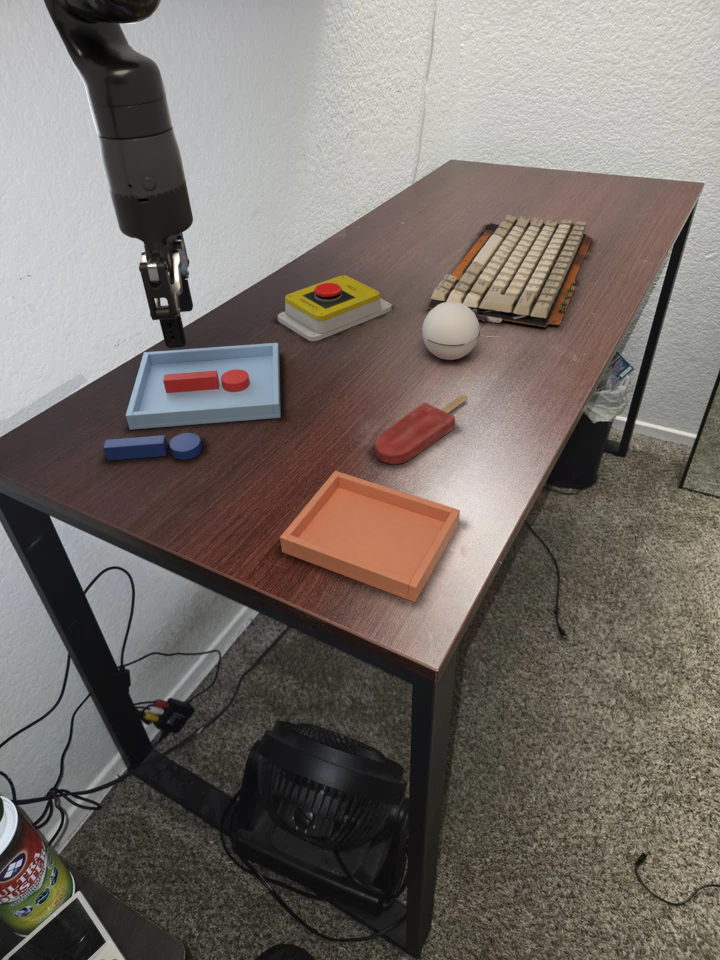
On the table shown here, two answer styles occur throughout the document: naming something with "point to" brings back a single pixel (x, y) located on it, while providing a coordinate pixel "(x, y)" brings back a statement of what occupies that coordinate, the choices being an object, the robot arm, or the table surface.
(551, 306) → the mechanical keyboard
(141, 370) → the blue tray
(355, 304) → the emergency button
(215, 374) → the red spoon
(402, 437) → the popsicle
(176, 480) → the table surface
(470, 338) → the seamed sphere
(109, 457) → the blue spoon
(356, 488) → the clay tray
